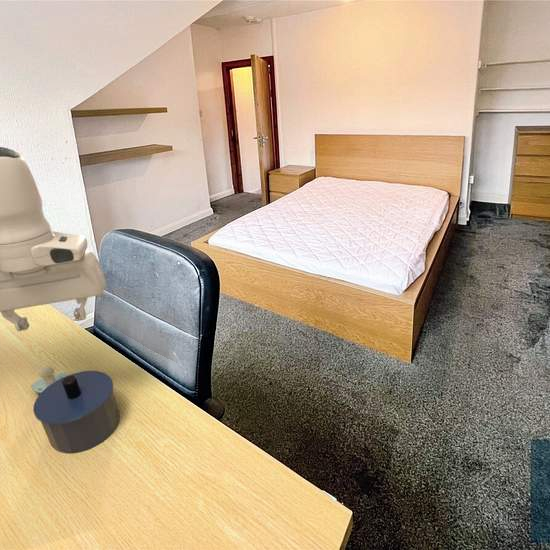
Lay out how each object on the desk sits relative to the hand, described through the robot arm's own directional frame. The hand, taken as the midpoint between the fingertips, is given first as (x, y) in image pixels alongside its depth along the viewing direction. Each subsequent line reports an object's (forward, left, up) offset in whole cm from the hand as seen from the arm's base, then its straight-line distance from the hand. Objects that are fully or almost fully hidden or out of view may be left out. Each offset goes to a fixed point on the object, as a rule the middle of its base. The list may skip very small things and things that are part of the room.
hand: (53, 323), depth 71 cm
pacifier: (-9, +12, -22) cm, 27 cm away
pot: (0, -3, -22) cm, 22 cm away
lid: (0, -3, -15) cm, 15 cm away
